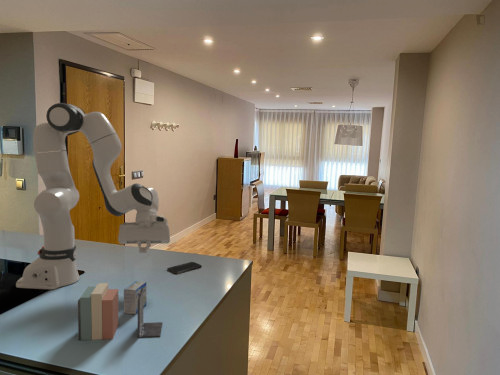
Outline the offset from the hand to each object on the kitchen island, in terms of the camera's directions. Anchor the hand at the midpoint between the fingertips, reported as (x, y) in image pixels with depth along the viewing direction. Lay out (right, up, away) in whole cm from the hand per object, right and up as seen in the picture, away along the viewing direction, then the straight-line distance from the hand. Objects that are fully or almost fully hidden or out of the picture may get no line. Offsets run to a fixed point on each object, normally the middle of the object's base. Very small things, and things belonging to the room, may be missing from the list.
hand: (143, 252), depth 141 cm
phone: (+12, -13, +26) cm, 31 cm away
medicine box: (+2, -17, -16) cm, 24 cm away
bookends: (+3, -19, -31) cm, 36 cm away
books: (-3, -19, -32) cm, 37 cm away
